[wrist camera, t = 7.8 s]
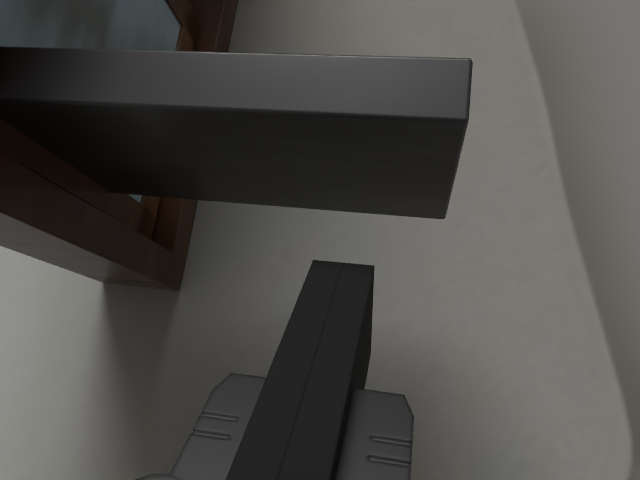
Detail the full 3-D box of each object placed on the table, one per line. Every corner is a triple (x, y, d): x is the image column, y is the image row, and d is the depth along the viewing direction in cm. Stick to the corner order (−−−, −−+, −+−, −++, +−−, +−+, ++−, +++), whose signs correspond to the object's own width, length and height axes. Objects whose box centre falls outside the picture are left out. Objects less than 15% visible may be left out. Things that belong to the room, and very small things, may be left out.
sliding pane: (436, 271, 21) (476, 126, 10) (132, 242, 24) (-135, 96, 12) (456, 24, 24) (505, -321, 13) (183, 20, 27) (8, -273, 15)
